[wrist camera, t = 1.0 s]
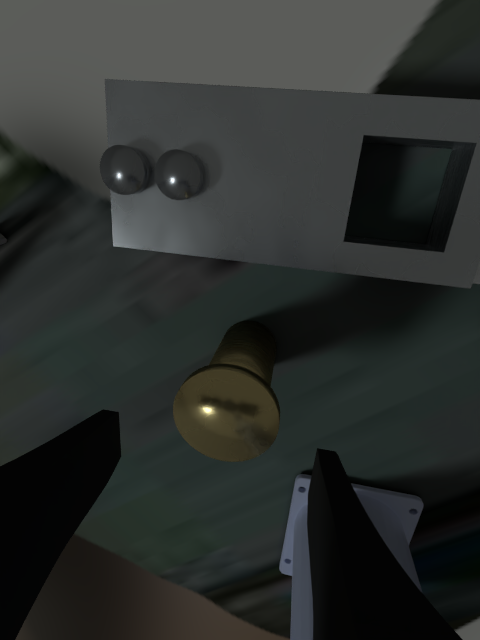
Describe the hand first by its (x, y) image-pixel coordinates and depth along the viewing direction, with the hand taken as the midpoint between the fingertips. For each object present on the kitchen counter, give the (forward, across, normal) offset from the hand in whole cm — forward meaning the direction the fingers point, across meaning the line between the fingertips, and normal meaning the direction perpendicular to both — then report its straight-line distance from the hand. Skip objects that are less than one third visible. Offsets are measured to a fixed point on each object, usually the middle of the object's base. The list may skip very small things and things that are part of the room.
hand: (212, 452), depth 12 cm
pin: (+9, 0, 0) cm, 9 cm away
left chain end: (+9, -1, -9) cm, 13 cm away
